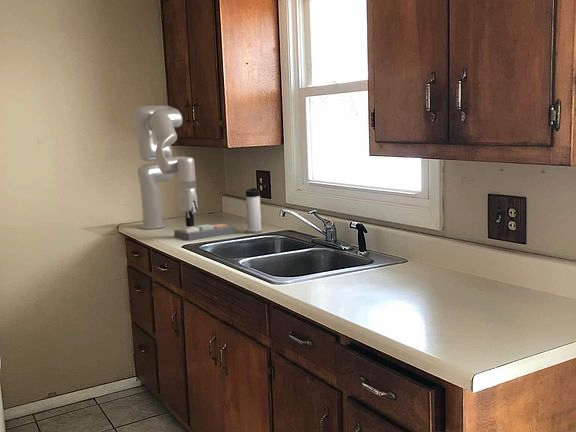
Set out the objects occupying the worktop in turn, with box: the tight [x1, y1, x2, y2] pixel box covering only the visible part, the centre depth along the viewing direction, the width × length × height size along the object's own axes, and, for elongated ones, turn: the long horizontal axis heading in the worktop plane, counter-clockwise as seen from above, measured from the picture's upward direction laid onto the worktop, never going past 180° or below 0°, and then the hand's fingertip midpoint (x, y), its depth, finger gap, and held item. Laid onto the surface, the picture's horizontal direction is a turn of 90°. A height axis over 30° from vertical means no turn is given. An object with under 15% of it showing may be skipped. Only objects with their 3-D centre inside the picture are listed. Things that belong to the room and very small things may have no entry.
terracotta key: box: [212, 223, 228, 228], centre depth 301 cm, size 6×6×2 cm
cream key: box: [180, 226, 199, 233], centre depth 292 cm, size 6×6×2 cm
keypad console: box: [173, 223, 237, 242], centre depth 296 cm, size 14×24×3 cm, turn 127°
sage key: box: [195, 223, 214, 230], centre depth 296 cm, size 6×6×2 cm
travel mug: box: [245, 187, 262, 235], centre depth 297 cm, size 6×7×20 cm
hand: (190, 226), depth 291 cm, fingers closed
